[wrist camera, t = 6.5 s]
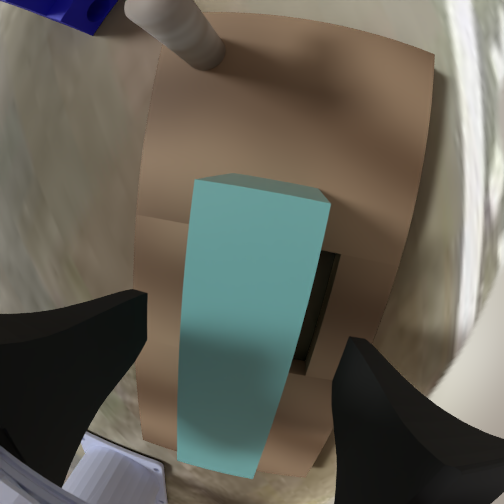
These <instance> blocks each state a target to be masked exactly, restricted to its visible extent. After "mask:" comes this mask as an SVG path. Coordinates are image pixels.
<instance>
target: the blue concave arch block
mask: <svg viewBox="0 0 504 504" xmlns="http://www.w3.org/2000/svg"><path fill="white" fill-rule="evenodd" d="M0 1H2V2H5V3H8V4H11V5H14V6H17V7H20V8H23V9H25V10H28V11H31V12H33V13H36V14H39V15H41V16H44V17H46V18H49V19H51V20H54V21H56V22H59V23H62V24H64V25H67V26H70V27H72V28H75V29H77V30H80V31H82V32H85V33H87V34H89V35H92V36H93V35H94V33H95V32H96V30H97V29H98V27H99V26H100V24H101V23H102V22H103V20H104V19H105V17H106V16H107V15H108V13H109V12H110V10H111V9H112V8H113V6H114V5H115V4H116V2H117V1H118V0H0Z"/></svg>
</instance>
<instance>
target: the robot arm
mask: <svg viewBox="0 0 504 504" xmlns="http://www.w3.org/2000/svg"><path fill="white" fill-rule="evenodd" d="M147 302H148V293H146V292H142V291H138V290H135V289H131V290H125V291H121V292H118V293H114V294H111V295H107V296H104V297H101V298H97V299H94V300H91V301H87V302H83V303H80V304H76V305H72V306H68V307H64V308H59V309H54V310H48V311H42V312H34V313H20V314H0V504H168V501H167V493H166V484H165V474H164V466H163V464H162V463H161V462H159V461H156V460H153V459H151V458H148V457H145V456H142V455H140V454H137V453H135V452H132V451H130V450H127V449H125V448H122V447H120V446H118V445H115V444H113V443H111V442H108V441H106V440H104V439H102V438H100V437H97V436H95V435H93V434H91V433H89V432H87V429H88V427H89V425H90V423H91V422H92V420H93V418H94V416H95V415H96V413H97V411H98V409H99V408H100V406H101V405H102V403H103V402H104V400H105V399H106V398H107V396H108V395H109V394H110V393H111V391H112V390H113V389H114V388H115V386H116V385H117V384H118V382H119V381H120V380H121V379H122V377H123V376H124V375H125V374H126V372H127V371H128V370H129V368H130V367H131V366H132V365H133V363H134V362H135V361H136V359H137V357H138V356H139V354H140V352H141V351H142V349H143V347H144V345H145V343H146V341H147ZM331 406H332V416H333V425H334V434H335V444H336V454H337V475H336V491H335V502H334V504H491V503H492V502H493V501H494V500H495V499H497V498H498V497H499V496H500V495H501V494H502V493H503V492H504V439H502V438H499V437H496V436H493V435H490V434H488V433H485V432H483V431H481V430H479V429H477V428H475V427H472V426H470V425H468V424H467V423H464V422H462V421H461V420H459V419H457V418H456V417H454V416H452V415H451V414H449V413H447V412H446V411H444V410H443V409H441V408H440V407H439V406H437V405H436V404H434V403H433V402H432V401H431V400H429V399H428V398H427V397H425V396H424V395H423V394H421V393H420V392H419V391H418V390H417V389H416V388H415V387H413V386H412V385H411V384H410V383H409V382H408V381H407V380H406V379H405V378H404V377H403V376H402V375H401V374H400V373H399V372H398V371H397V370H396V369H395V368H394V367H393V366H392V365H391V364H390V363H389V362H388V361H387V360H386V359H385V358H384V357H383V356H382V355H381V354H380V353H379V352H378V350H377V349H376V348H375V347H374V346H373V345H372V344H371V343H370V342H369V341H367V340H366V339H364V338H357V337H351V336H349V338H348V340H347V343H346V346H345V349H344V351H343V354H342V357H341V359H340V362H339V365H338V367H337V370H336V372H335V375H334V377H333V380H332V395H331ZM80 443H81V444H82V447H83V449H84V452H85V455H84V456H83V457H82V459H81V460H80V462H79V463H78V465H77V466H76V468H75V469H74V470H73V472H72V473H71V475H70V476H69V478H68V479H67V481H66V482H65V484H64V485H63V483H64V480H65V478H66V475H67V472H68V470H69V467H70V465H71V462H72V460H73V458H74V456H75V453H76V451H77V449H78V447H79V445H80ZM62 486H63V487H62Z"/></svg>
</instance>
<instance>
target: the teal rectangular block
mask: <svg viewBox="0 0 504 504" xmlns="http://www.w3.org/2000/svg"><path fill="white" fill-rule="evenodd" d="M330 206H331V203H330V202H329V201H328V200H327V198H326V197H325V196H324V195H323V193H322V192H321V191H320V190H319V189H318V188H314V187H309V186H304V185H299V184H294V183H289V182H283V181H278V180H272V179H267V178H261V177H255V176H249V175H243V174H237V173H230V174H223V175H217V176H211V177H205V178H199V179H195V180H194V188H193V196H192V204H191V212H190V221H189V230H188V239H187V249H186V259H185V270H184V282H183V295H182V308H181V324H180V341H179V363H178V395H177V461H181V462H184V463H187V464H191V465H194V466H198V467H202V468H205V469H209V470H213V471H217V472H222V473H226V474H231V475H235V476H240V477H245V478H250V479H253V477H254V474H255V472H256V469H257V466H258V463H259V461H260V458H261V455H262V452H263V449H264V447H265V444H266V441H267V438H268V435H269V432H270V429H271V426H272V423H273V420H274V417H275V414H276V411H277V408H278V405H279V402H280V399H281V395H282V392H283V389H284V386H285V383H286V379H287V376H288V373H289V369H290V366H291V363H292V359H293V356H294V352H295V349H296V345H297V342H298V338H299V335H300V331H301V327H302V324H303V320H304V316H305V313H306V309H307V305H308V301H309V297H310V293H311V289H312V285H313V281H314V277H315V273H316V269H317V265H318V261H319V256H320V252H321V248H322V243H323V239H324V234H325V230H326V225H327V221H328V216H329V211H330Z"/></svg>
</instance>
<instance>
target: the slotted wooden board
mask: <svg viewBox="0 0 504 504" xmlns="http://www.w3.org/2000/svg"><path fill="white" fill-rule="evenodd" d="M124 11H125V14H126V16H127V17H128V18H129V19H130V20H131V21H133V22H134V23H135V24H137V25H138V26H140V27H141V28H142V29H144V30H145V31H146V32H148V33H149V34H150V35H152V36H153V37H154V38H156V39H157V40H158V41H160V42H161V43H162V48H161V52H160V56H159V61H158V65H157V70H156V75H155V79H154V84H153V90H152V95H151V100H150V106H149V112H148V118H147V124H146V130H145V137H144V144H143V152H142V160H141V168H140V177H139V187H138V198H137V210H136V225H135V243H134V273H133V289H135V290H138V291H142V292H146V293H148V302H147V341H146V343H145V345H144V347H143V349H142V351H141V352H140V354H139V356H138V357H137V359H136V361H135V366H136V380H137V392H138V402H139V412H140V420H141V428H142V436H143V440H145V441H148V442H150V443H153V444H156V445H159V446H162V447H165V448H168V449H171V450H174V451H177V395H178V363H179V341H180V324H181V308H182V295H183V282H184V270H185V259H186V249H187V239H188V230H189V221H190V212H191V204H192V196H193V188H194V180H195V179H199V178H205V177H211V176H217V175H223V174H230V173H237V174H243V175H249V176H255V177H261V178H267V179H272V180H278V181H283V182H289V183H294V184H299V185H304V186H309V187H314V188H318V189H319V190H320V191H321V192H322V193H323V195H324V196H325V197H326V198H327V200H328V201H329V202H330V203H331V206H330V211H329V216H328V221H327V225H326V230H325V234H324V239H323V243H322V248H321V250H323V251H328V252H333V253H336V254H335V258H334V262H333V266H332V270H331V274H330V278H329V282H328V285H327V289H326V293H325V297H324V300H323V304H322V307H321V311H320V314H319V318H318V321H317V325H316V328H315V331H314V335H313V338H312V341H311V345H310V348H309V351H308V354H307V357H306V361H302V360H296V359H292V363H291V366H290V369H289V373H288V376H287V379H286V383H285V386H284V389H283V392H282V395H281V399H280V402H279V405H278V408H277V411H276V414H275V417H274V420H273V423H272V426H271V429H270V432H269V435H268V438H267V441H266V444H265V447H264V449H263V452H262V455H261V458H260V461H259V463H258V466H257V469H256V471H261V472H267V473H273V474H280V475H287V476H296V477H306V476H307V474H308V472H309V471H310V469H311V467H312V466H313V464H314V462H315V460H316V459H317V457H318V455H319V454H320V452H321V450H322V448H323V446H324V445H325V443H326V441H327V439H328V437H329V435H330V434H331V432H332V430H333V428H334V425H333V416H332V406H331V395H332V380H333V377H334V375H335V372H336V370H337V367H338V365H339V362H340V359H341V357H342V354H343V351H344V349H345V346H346V343H347V340H348V338H349V336H351V337H357V338H364V339H366V340H367V341H369V342H370V343H371V344H372V343H373V340H374V337H375V335H376V332H377V330H378V327H379V324H380V322H381V319H382V316H383V313H384V311H385V308H386V305H387V302H388V299H389V296H390V293H391V290H392V287H393V284H394V281H395V278H396V274H397V271H398V268H399V264H400V261H401V258H402V254H403V250H404V247H405V243H406V239H407V236H408V232H409V228H410V224H411V220H412V216H413V211H414V207H415V203H416V198H417V193H418V189H419V184H420V178H421V173H422V168H423V162H424V156H425V150H426V143H427V136H428V129H429V121H430V112H431V103H432V92H433V78H434V57H435V54H432V53H430V52H427V51H424V50H422V49H419V48H416V47H414V46H411V45H408V44H405V43H402V42H399V41H396V40H393V39H389V38H386V37H383V36H379V35H376V34H372V33H368V32H365V31H361V30H357V29H353V28H348V27H344V26H339V25H334V24H330V23H324V22H319V21H313V20H307V19H300V18H293V17H285V16H276V15H266V14H253V13H232V12H201V10H200V9H199V8H198V6H197V5H196V4H195V2H194V1H193V0H126V1H125V6H124Z"/></svg>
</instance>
